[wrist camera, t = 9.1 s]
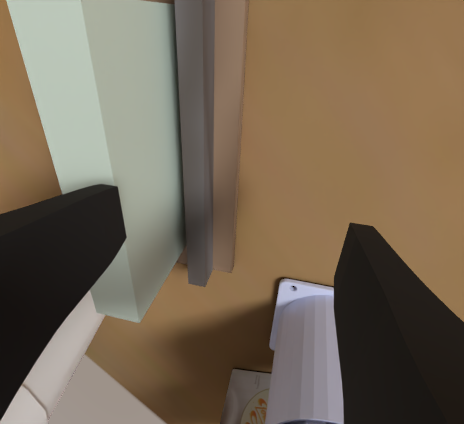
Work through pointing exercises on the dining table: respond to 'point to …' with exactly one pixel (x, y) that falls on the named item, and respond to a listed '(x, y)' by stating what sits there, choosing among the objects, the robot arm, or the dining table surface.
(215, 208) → the bottom track
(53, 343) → the foam cup
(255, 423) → the coffee box
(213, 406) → the dining table surface
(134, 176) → the door panel
